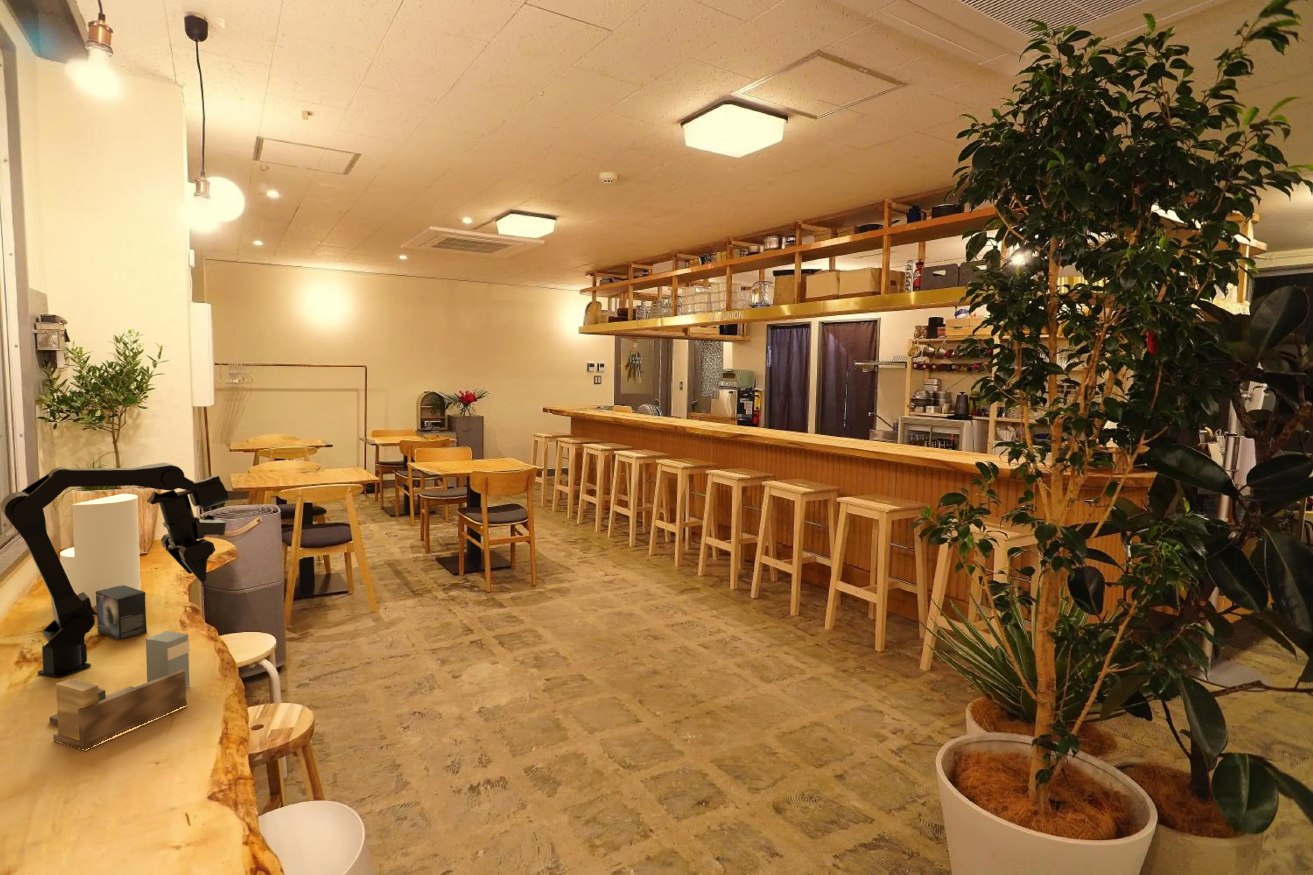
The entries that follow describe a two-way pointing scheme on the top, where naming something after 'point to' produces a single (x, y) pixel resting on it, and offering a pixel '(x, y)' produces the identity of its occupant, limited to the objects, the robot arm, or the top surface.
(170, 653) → the grey upright block
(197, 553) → the robot arm
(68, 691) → the wooden l-bracket
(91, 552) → the cylinder
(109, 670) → the top surface
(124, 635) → the small box
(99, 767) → the top surface
